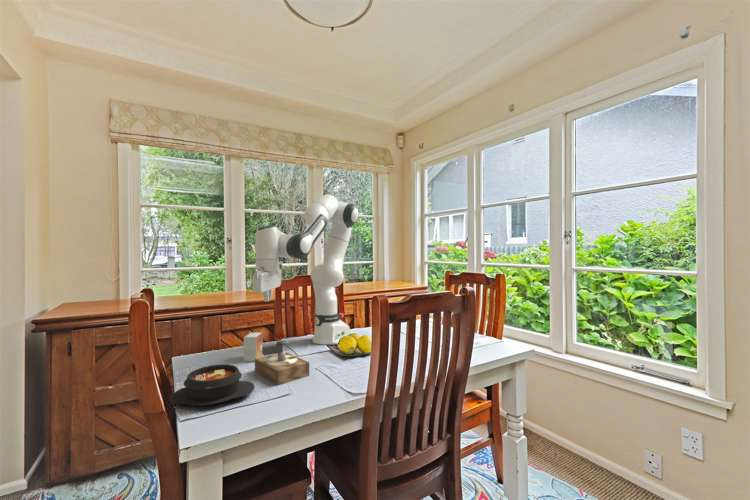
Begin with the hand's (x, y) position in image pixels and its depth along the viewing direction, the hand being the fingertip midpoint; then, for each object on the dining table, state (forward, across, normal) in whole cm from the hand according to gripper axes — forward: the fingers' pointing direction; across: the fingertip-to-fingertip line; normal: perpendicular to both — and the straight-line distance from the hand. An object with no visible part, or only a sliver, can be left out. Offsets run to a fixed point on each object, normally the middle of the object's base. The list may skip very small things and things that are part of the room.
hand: (267, 301), depth 137 cm
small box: (+27, +10, +11) cm, 31 cm away
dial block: (+27, -5, -8) cm, 28 cm away
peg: (+22, -5, -7) cm, 23 cm away
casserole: (+27, -27, +7) cm, 39 cm away
